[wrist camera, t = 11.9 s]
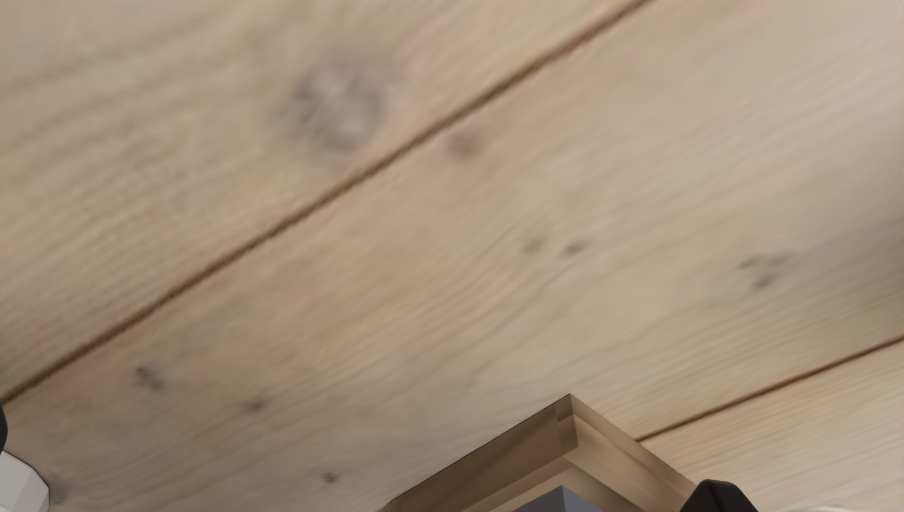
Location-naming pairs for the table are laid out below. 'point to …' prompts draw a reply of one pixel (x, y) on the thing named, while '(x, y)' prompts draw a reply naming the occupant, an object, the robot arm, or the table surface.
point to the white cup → (21, 487)
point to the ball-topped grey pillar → (559, 502)
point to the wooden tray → (554, 469)
